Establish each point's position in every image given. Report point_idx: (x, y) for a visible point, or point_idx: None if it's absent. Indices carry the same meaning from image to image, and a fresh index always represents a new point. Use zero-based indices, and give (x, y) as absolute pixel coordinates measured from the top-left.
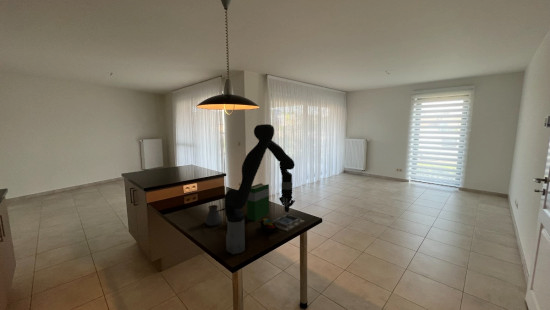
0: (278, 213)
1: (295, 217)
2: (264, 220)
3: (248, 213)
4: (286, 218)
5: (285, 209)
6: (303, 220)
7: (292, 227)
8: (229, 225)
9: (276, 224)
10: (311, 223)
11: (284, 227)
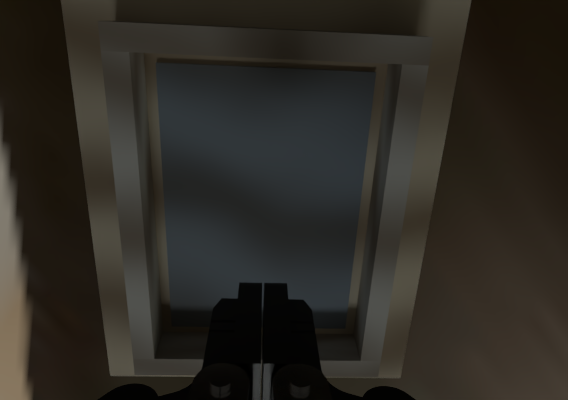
0: (540, 379)
1: None
2: None
3: None
4: (337, 297)
5: (276, 316)
6: (123, 375)
7: (79, 115)
8: None
9: (337, 31)
10: (25, 378)
11: (157, 17)
